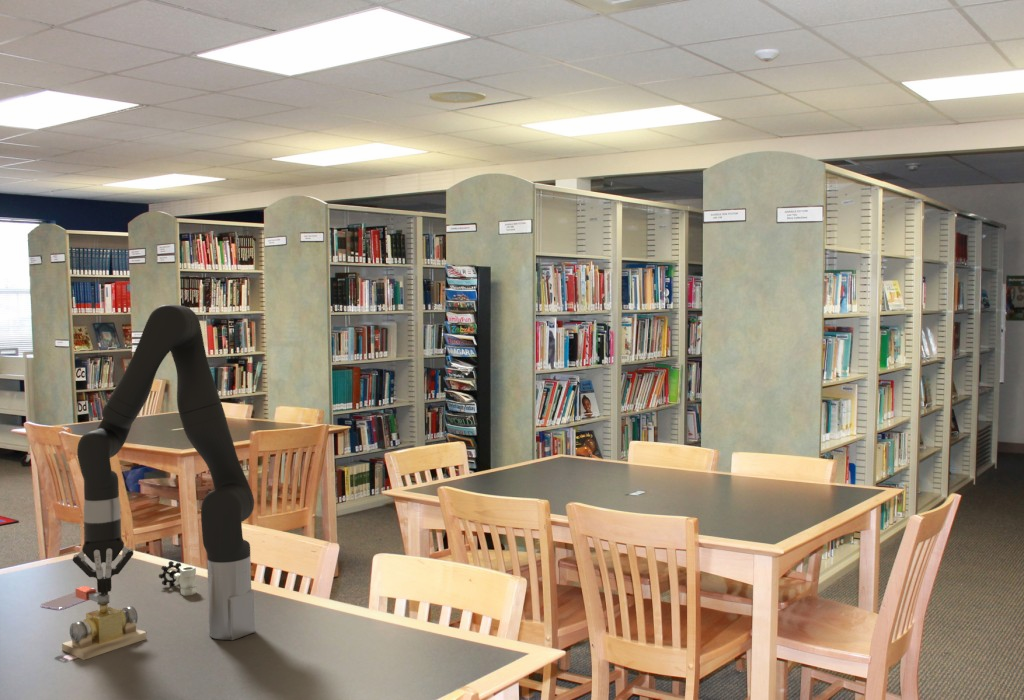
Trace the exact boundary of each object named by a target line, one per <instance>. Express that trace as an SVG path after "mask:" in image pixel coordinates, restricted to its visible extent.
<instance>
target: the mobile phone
mask: <svg viewBox="0 0 1024 700" xmlns="http://www.w3.org/2000/svg"><path fill="white" fill-rule="evenodd" d="M92 588H93V589H96V592H97V593H98V591H97V587H96V588H95V587H92ZM100 594H101V593H100ZM84 602H87V601H86V600H83V599H80V598H77V597H76V591H74V592H71V593H69V594H65V595H63V596H59V597H57V598H54V599H51V600H49V601H46V602H44V603H41V604H40V608H42V609H43V608H44V609H48V610H55V611H61V610H64V609H65V610H66V609H68V608H70V607H74V606H76V605H78V604H81V603H84Z"/></svg>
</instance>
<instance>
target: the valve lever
mask: <svg viewBox="0 0 1024 700" xmlns="http://www.w3.org/2000/svg"><path fill="white" fill-rule="evenodd" d="M93 588H94V587H89V586H86V585H84V586H81V587H76V588H75V592H76V597H77V598H80V599H83V600H86V601H85V602H87V601H92V602H95V603H97V605H99V606H100V605H104V604H108V605H109V604H110V603H111V601H110V600H111V599H110V598H111V597H110V594H109V593H108V594H100V593H97V592H96V589H97V588H96V589H93Z"/></svg>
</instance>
